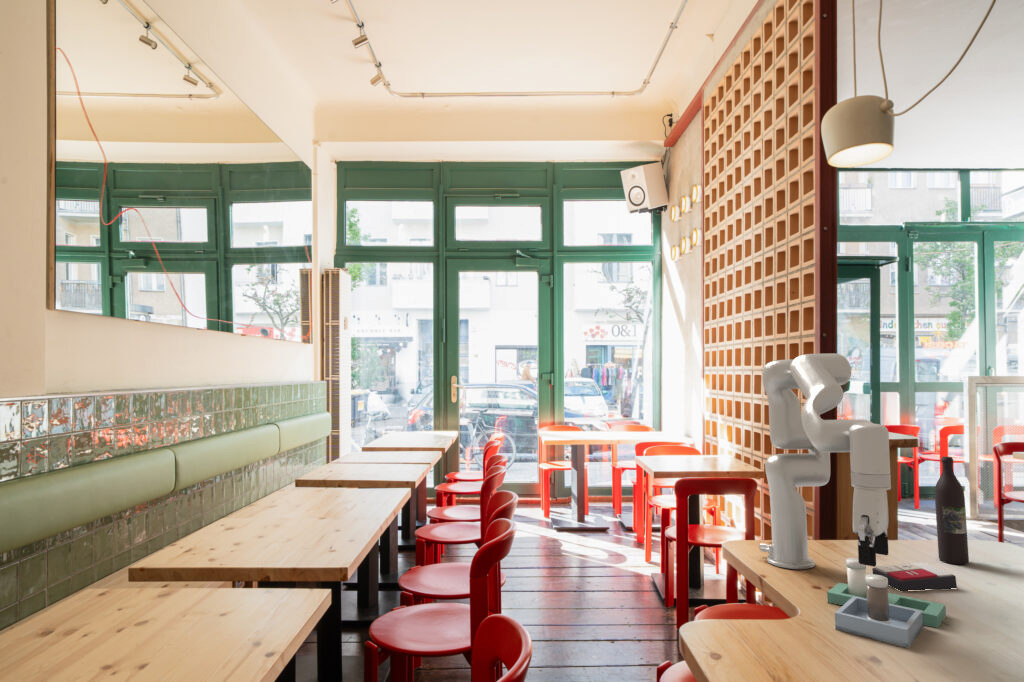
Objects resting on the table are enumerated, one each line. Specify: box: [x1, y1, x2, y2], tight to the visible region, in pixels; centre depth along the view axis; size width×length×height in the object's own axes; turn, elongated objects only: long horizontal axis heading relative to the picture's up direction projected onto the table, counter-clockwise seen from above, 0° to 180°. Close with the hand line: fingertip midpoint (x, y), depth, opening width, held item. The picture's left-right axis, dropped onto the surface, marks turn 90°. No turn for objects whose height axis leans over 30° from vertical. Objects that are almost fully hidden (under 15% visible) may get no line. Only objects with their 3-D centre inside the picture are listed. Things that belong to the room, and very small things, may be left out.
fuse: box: [845, 557, 867, 598], centre depth 144 cm, size 4×4×10 cm
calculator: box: [871, 561, 958, 592], centre depth 157 cm, size 11×4×15 cm
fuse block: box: [826, 582, 947, 629], centre depth 140 cm, size 22×9×2 cm, turn 45°
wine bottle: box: [934, 456, 970, 566], centre depth 175 cm, size 7×7×30 cm
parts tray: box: [834, 596, 924, 649], centre depth 130 cm, size 13×13×4 cm
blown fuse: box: [865, 573, 890, 624], centre depth 130 cm, size 4×4×10 cm
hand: (873, 559), depth 131 cm, fingers open, 9 cm apart
